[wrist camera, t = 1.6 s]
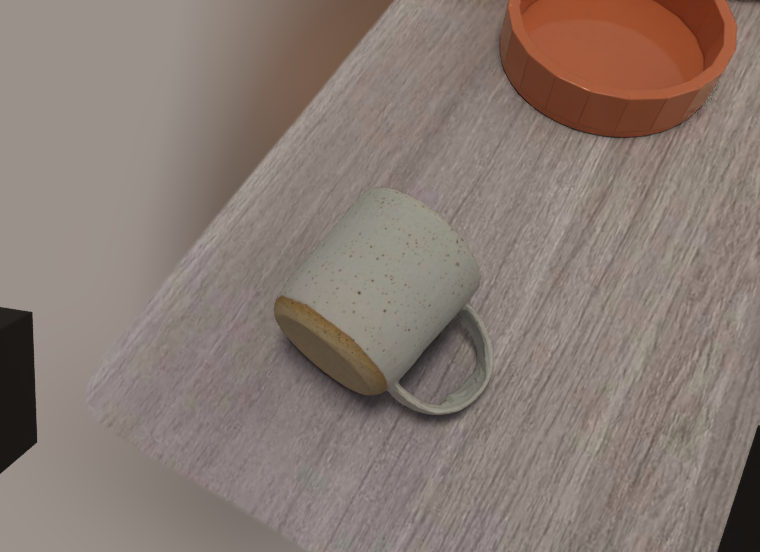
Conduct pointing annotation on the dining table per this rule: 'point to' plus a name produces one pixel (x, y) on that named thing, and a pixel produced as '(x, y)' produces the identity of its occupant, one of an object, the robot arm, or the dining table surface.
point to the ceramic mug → (385, 298)
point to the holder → (617, 60)
